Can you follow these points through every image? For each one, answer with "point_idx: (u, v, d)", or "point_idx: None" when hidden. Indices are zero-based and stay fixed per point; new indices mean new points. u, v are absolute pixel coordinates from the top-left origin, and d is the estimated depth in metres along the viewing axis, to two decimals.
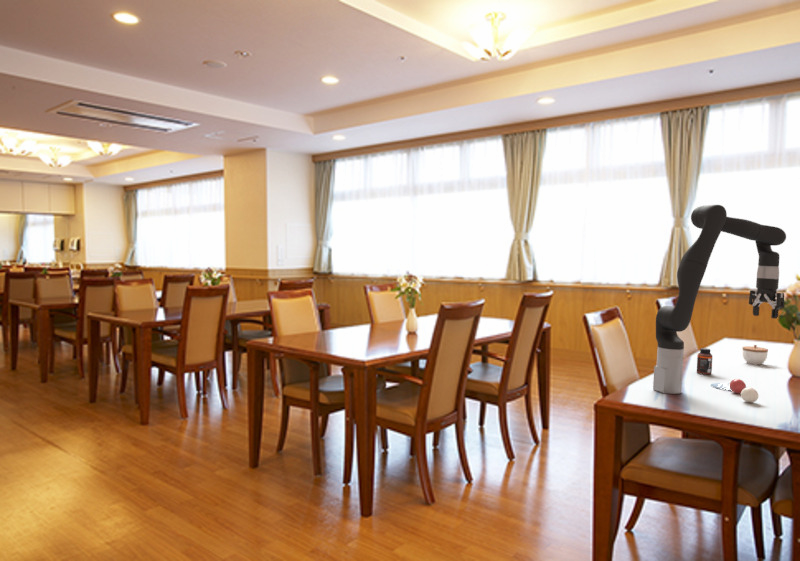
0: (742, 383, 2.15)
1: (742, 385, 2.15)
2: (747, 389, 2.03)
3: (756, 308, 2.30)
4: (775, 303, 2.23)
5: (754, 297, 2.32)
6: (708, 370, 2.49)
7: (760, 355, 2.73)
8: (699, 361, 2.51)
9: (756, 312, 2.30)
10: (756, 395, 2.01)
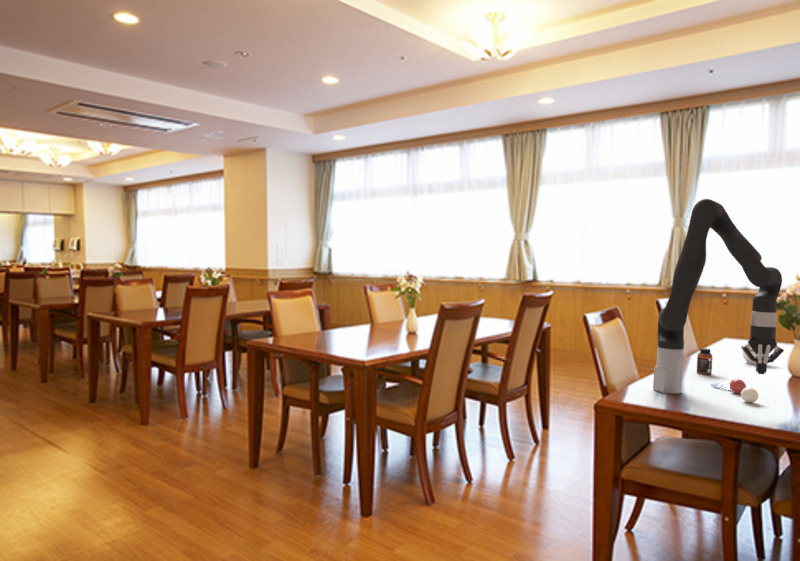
0: (742, 383, 2.15)
1: (742, 385, 2.15)
2: (747, 389, 2.03)
3: None
4: None
5: (774, 353, 1.93)
6: (708, 370, 2.49)
7: None
8: (699, 361, 2.51)
9: None
10: (756, 395, 2.01)
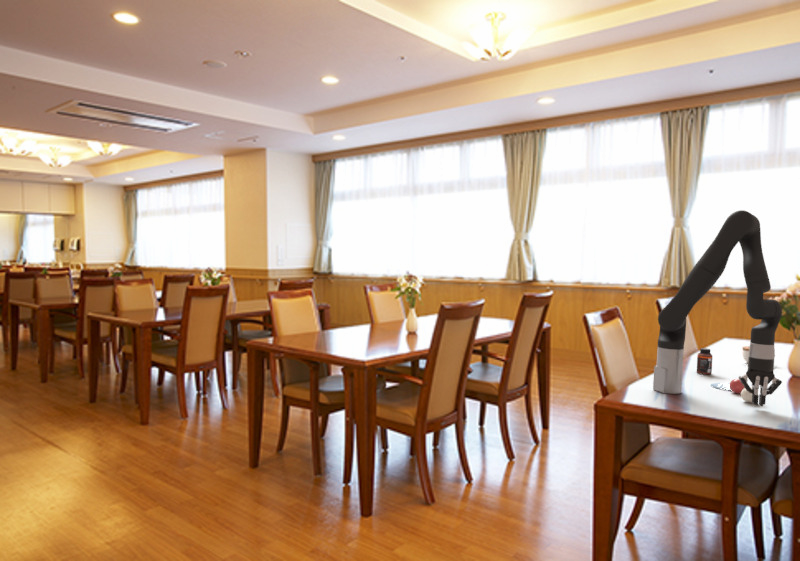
0: None
1: (742, 385, 2.15)
2: None
3: (760, 396, 1.95)
4: None
5: (772, 385, 1.93)
6: (708, 370, 2.49)
7: None
8: (699, 361, 2.51)
9: (760, 401, 1.95)
10: None
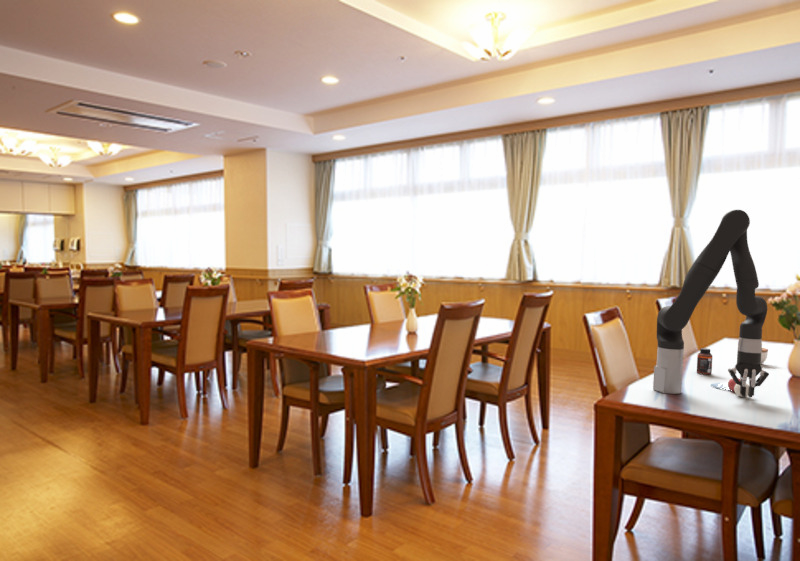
0: (739, 379, 2.18)
1: None
2: None
3: (749, 388, 2.07)
4: None
5: (760, 377, 2.05)
6: (708, 370, 2.49)
7: None
8: (699, 361, 2.51)
9: (749, 392, 2.07)
10: None
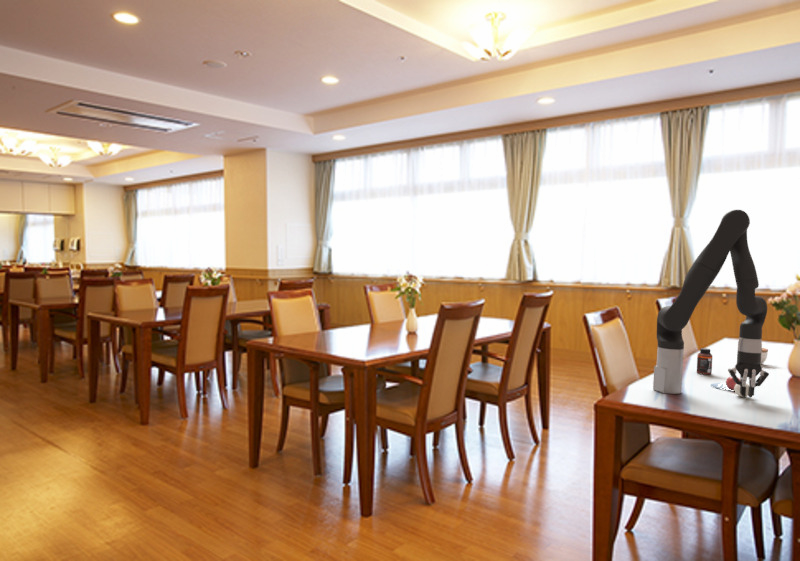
0: None
1: None
2: None
3: (749, 388, 2.07)
4: None
5: (760, 377, 2.05)
6: (708, 370, 2.49)
7: None
8: (699, 361, 2.51)
9: (749, 392, 2.07)
10: None
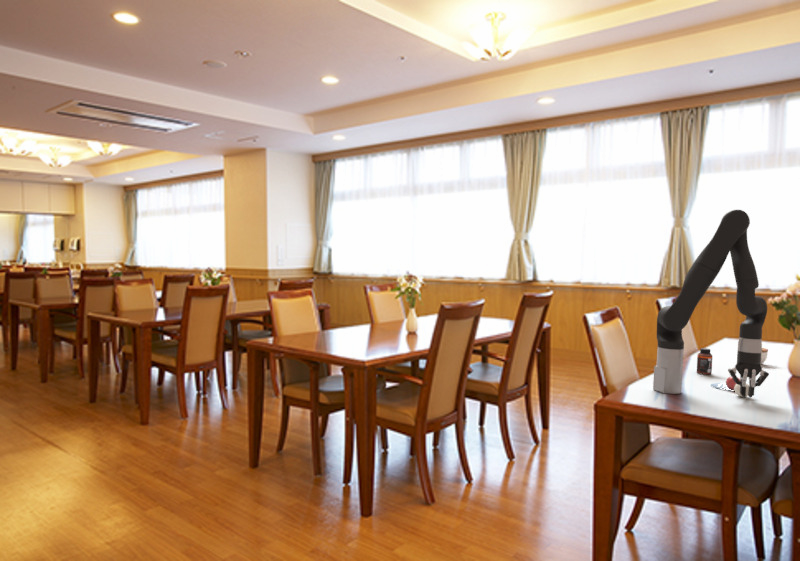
0: None
1: None
2: None
3: (749, 388, 2.07)
4: None
5: (760, 377, 2.05)
6: (708, 370, 2.49)
7: None
8: (699, 361, 2.51)
9: (749, 392, 2.07)
10: None
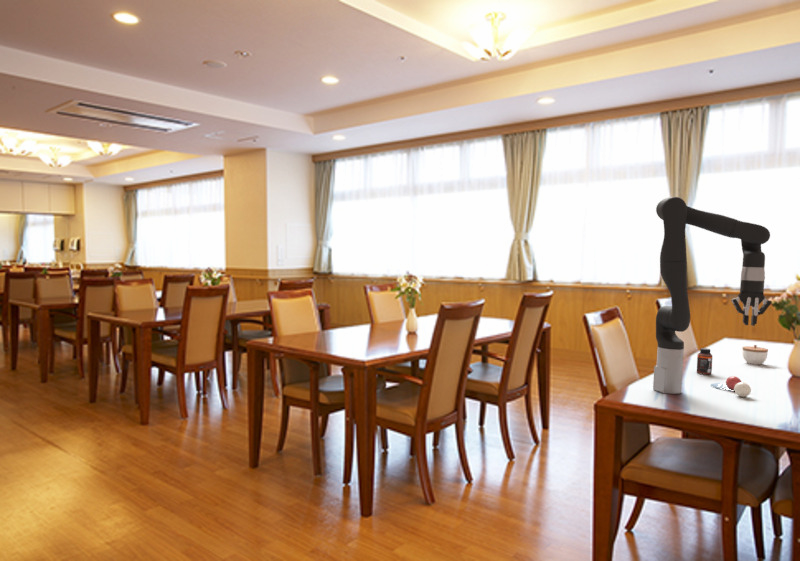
0: None
1: None
2: None
3: (752, 317, 2.10)
4: None
5: (763, 306, 2.08)
6: (708, 370, 2.49)
7: (760, 355, 2.73)
8: (699, 361, 2.51)
9: (751, 321, 2.09)
10: None
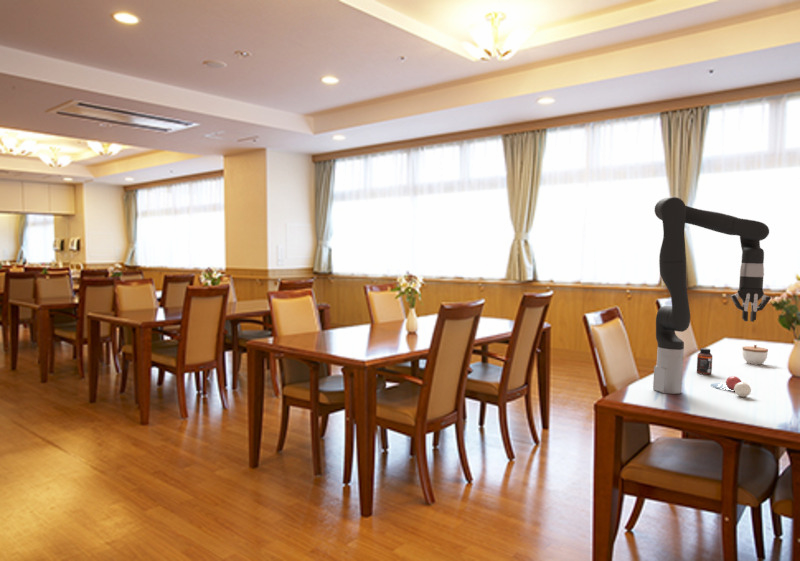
0: None
1: None
2: None
3: (751, 313, 2.10)
4: None
5: (762, 302, 2.09)
6: (708, 370, 2.49)
7: (760, 355, 2.73)
8: (699, 361, 2.51)
9: (751, 317, 2.10)
10: None
